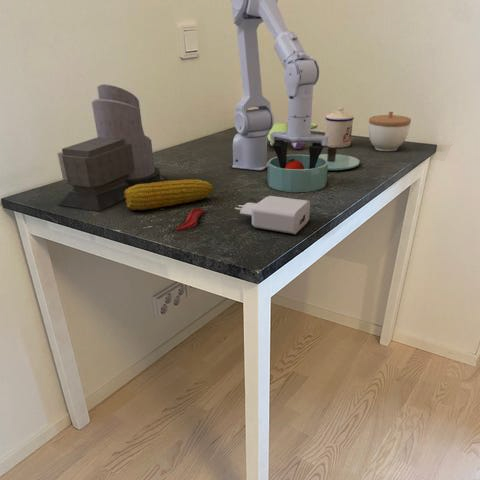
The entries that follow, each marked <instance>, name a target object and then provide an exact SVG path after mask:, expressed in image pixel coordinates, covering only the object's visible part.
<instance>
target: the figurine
mask: <svg viewBox="0 0 480 480" xmlns="http://www.w3.org/2000/svg"><path fill="white" fill-rule="evenodd" d="M318 126H319V125H318V124H317V123H313V122H311V130H314V129H317V128H318ZM287 130H288V122H287V123H284V122H281V123H277V122H275V123H273V127H272V129H271V130H270V131H269V134H267V144H268V143H269V144H270V146H271V147H273V144H274V141H270V133H272V132H287ZM290 143H291V146H292V147H293V149H297V150H302V149H303V147H304V145H305V143H294V142H290Z"/></svg>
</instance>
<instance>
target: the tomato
mask: <svg viewBox="0 0 480 480" xmlns="http://www.w3.org/2000/svg"><path fill="white" fill-rule="evenodd" d="M288 161H289V163H287V165H286V166H285V169H304V166H303V164H302V163H301V162H299V161H296V160H295V159H291V160H288Z"/></svg>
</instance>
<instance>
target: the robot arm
mask: <svg viewBox="0 0 480 480" xmlns="http://www.w3.org/2000/svg"><path fill="white" fill-rule="evenodd" d="M278 1H279V0H230V3H231V4H230V5H231V12H232V14H231V15H232V21H233V24H234V25H235V29H236V30H235V31H236V39H237V47H238V59H239V68H240V79H241V88H242V99H241V100H239V102H238V103H237V104H236V105H235V107H234V109H235V111H234V112H235V115H234V127H235V130H236V131H237V133H236V134H235V135H234V136H233V140H232V166H231V167H232V168H233V169H242V170H250V171H259V172H261V171H263V170H265V169H268V143H267V141H268V139H267V135H268V134H269V131H270V130H271V129H272V127H273V124H275V123H274V122H275V118H274V114H273V111H272V106H271V102H270V101H269V100H268V99H267V98H266V97H265V96H263V87H262V77H261V64H260V53H259V41H258V39H259V38H258V28H259V26H260V24H263V23H264V24H265V26H266V27H267V29H268V31H269V32H270V34H271V36H272V37H273V39H274V40H275V41H274V44H273V49H274V52H275V53H276V55H277V57H278V59H279V61H280V63H281V65H282V67H283V69H284V73H283V81H284V84H285V86H286V95H287V96H288V102H287V103H288V104H287V123H288V130H287V132H272V133H270V141H274V144H273V146H272V148H273V150H274V152H275V155H276V157H278V160H279V164H280V168H284V169H285V166H286V156H287V155H288V146H289V143H292V142H294V143H304V144H306V145H307V144H308V145H309V144H310V145H309V146H308V153H309V154H308V155H310V164H309V169H312V168H315V166H316V163H317V160H318V158H319V155H320V154H322V151H323V149H324V147H325V146H326V145H327V144H328V136H325V135H323V134H316V133H311V130H312V129H311V123H312V113H313V97H314V96H313V95H314V86H315V85H316V84H317V83H318V81H319V78H320V66H319V64H318V61H317V59H315V58H313V57H311V56H310V55H307V53H306V52H305V49H304V48H303V46H302V44H301V42H300V40H299V37H298V35H297V33H295V32H294V31H290V30H288V27H287V25H286V23H285V20H284V17H283V15H282V13H281V11H280V8H279V6H278ZM251 108H252V109H251ZM270 141H269V142H270ZM326 147H327V146H326Z"/></svg>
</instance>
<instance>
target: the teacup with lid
mask: <svg viewBox="0 0 480 480" xmlns="http://www.w3.org/2000/svg"><path fill="white" fill-rule="evenodd" d="M354 119H355V117H354V115H353V114H351V113H349V112H348V111H346V110H344V107H343V106H338V107H337V108H336V110H334V111H332V112H331V113H328V114H326V116H325V127H324V128H325V130H324V136H328V144H327V145H326V147H328V146H337V148H336V149H342V148H348V147H350V146H351V143H352V133H353V122H354Z"/></svg>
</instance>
